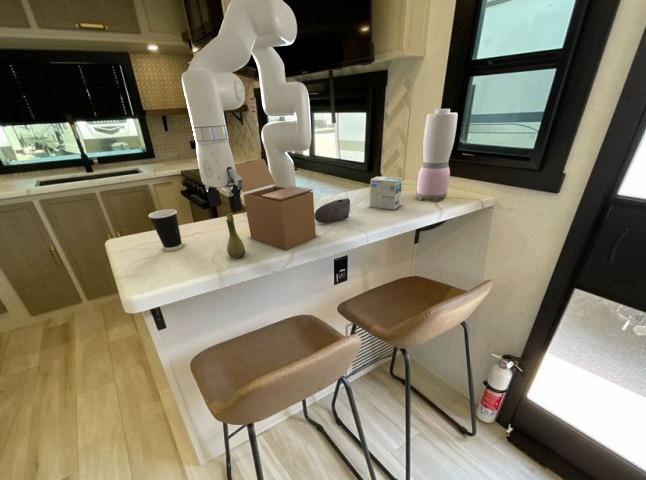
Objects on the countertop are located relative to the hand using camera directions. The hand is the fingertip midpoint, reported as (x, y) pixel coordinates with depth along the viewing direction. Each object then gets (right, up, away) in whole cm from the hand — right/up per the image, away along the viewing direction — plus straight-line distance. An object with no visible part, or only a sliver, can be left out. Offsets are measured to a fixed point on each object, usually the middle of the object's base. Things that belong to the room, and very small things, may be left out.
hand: (226, 208), depth 81 cm
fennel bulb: (+1, -12, +8) cm, 14 cm away
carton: (+13, -4, +19) cm, 23 cm away
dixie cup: (-22, -8, +16) cm, 28 cm away
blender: (+73, +20, +51) cm, 91 cm away
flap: (+4, +15, +15) cm, 22 cm away
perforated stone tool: (+30, +4, +30) cm, 43 cm away
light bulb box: (+51, +13, +42) cm, 67 cm away
